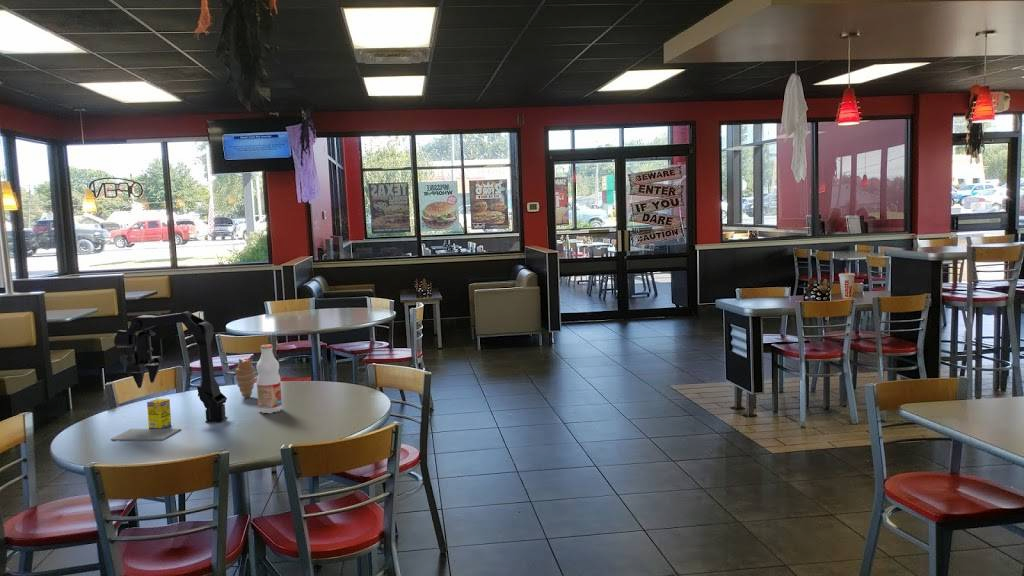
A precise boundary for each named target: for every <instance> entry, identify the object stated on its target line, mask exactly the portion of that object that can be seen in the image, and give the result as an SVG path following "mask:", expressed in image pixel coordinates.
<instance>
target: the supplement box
mask: <svg viewBox="0 0 1024 576" xmlns="http://www.w3.org/2000/svg"><path fill="white" fill-rule="evenodd" d="M170 401H171V400H170V398H155V399H153V400H149V401H147V402H146V404H147V405H146V406H147V420H148V429H168V428H169V427H172V417H171V416H172V415H171V404H170V403H171V402H170Z"/></svg>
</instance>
